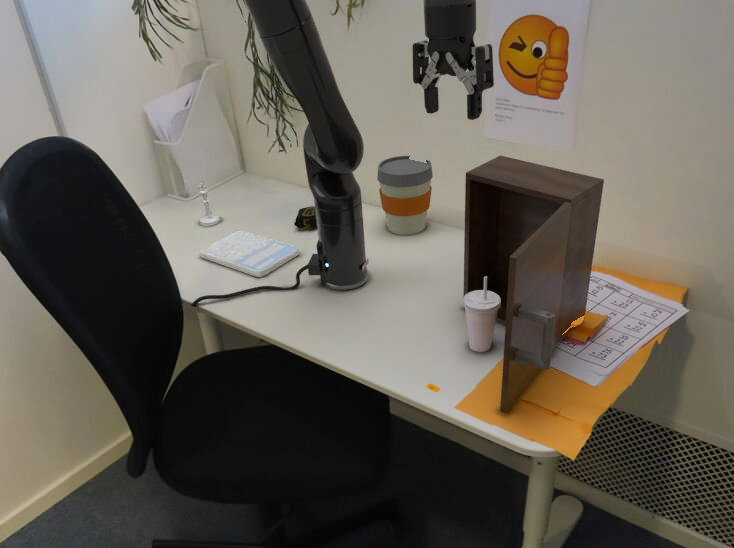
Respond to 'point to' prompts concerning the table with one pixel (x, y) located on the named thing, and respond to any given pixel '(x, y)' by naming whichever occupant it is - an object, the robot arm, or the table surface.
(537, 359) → the cupboard door
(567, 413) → the table surface
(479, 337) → the smoothie
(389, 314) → the table surface
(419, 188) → the reusable coffee cup
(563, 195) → the cupboard
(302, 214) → the tape measure
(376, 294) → the table surface
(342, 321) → the table surface
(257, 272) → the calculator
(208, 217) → the chess piece
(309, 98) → the robot arm
